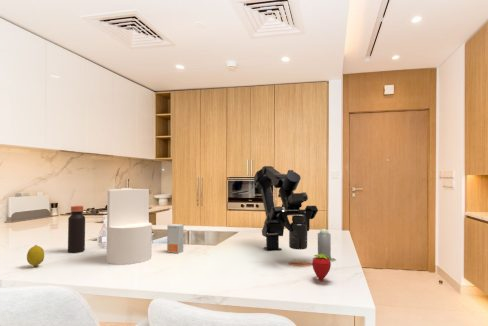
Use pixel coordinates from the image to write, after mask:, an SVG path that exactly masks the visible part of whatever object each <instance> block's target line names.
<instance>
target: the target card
mask: <svg viewBox="0 0 488 326" xmlns="http://www.w3.org/2000/svg"><path fill="white" fill-rule="evenodd" d="M315 257H316V256H314V257H313V258H312V260H313V259H314V258H315ZM336 261H337V259H336V258H335V257H334V258H333V257H331V260H330V263H334V262H336ZM288 265H289V266H292V267H298V268H306V267H307V268H308V267H311V266H312V262H310V261H308V260H307V261H306V260H291V261H289V262H288ZM312 267H313V266H312Z"/></svg>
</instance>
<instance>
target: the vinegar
mask: <svg viewBox="0 0 488 326" xmlns="http://www.w3.org/2000/svg"><path fill="white" fill-rule="evenodd" d="M70 212H71V214H70V216H69V217H68V218H67V220H68V221H67V222H68V224H67V229H68V231H67V252H68V253H69V254H71V253H72V254H77V253H82V252H85V250H86V216H85V215H84V214H83V213H84V205H71V207H70Z"/></svg>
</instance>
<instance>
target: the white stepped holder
mask: <svg viewBox="0 0 488 326" xmlns="http://www.w3.org/2000/svg"><path fill="white" fill-rule="evenodd" d="M106 192H107V194H106V195H107V196H106V197H107V205H106V207H107V208H106V210H107V211H106V213H107V215H106V263H108V264H111V265H119V266H120V265H121V266H122V265H126V266H127V265H135V264H136V265H137V264H141V263H145V262H149V260H152V258H151V257H152V256H153V255H152V254H153V253H152V252H153V251H152V245H153V243H152V241H153V240H152V239H153V232H152V231H153V223H152V222H150V219H149V217H150V212H149V211H150V188H120V189H119V188H117V189H115V188H114V189H108V190H107V191H106Z"/></svg>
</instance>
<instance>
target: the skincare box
mask: <svg viewBox="0 0 488 326" xmlns="http://www.w3.org/2000/svg"><path fill="white" fill-rule="evenodd" d="M184 226H185V225H184V224H181V223H180V224H179V223H178V224H177V223H172V224H171V223H170V224H168V225H167V230H166V231H167V232H166V235H167V238H166V240H167V243H166V252H167V253H171V252H172V254H180V252H181V253H183V252H184V230H185V229H184Z"/></svg>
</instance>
